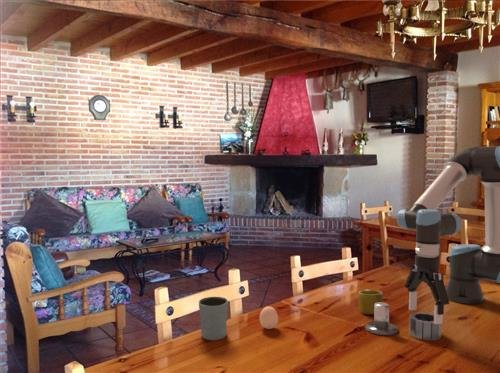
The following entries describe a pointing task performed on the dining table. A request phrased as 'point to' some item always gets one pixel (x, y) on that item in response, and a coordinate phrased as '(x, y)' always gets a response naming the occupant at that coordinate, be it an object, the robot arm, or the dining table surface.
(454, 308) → the dining table surface
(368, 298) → the mug
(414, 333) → the ring
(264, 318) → the egg
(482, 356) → the dining table surface
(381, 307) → the piston post
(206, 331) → the grey cup
